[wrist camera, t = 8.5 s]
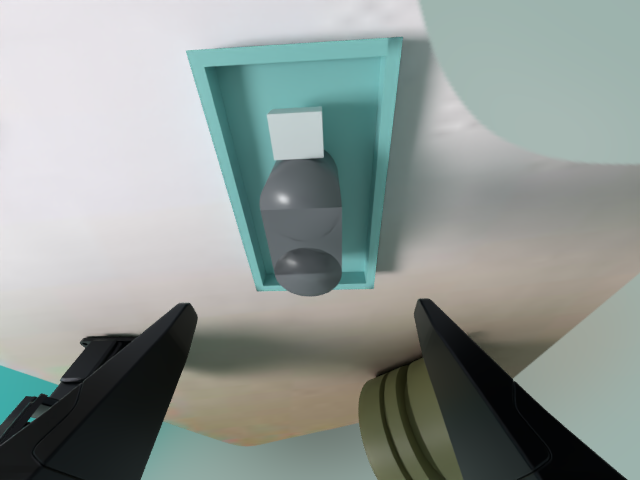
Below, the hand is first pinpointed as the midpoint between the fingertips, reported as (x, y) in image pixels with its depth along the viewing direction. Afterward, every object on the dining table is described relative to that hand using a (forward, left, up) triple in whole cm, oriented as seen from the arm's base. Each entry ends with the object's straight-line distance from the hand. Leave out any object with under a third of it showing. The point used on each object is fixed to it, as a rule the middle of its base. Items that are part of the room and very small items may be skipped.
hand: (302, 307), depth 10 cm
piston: (-23, -12, -9) cm, 27 cm away
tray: (+1, 0, -9) cm, 9 cm away
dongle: (0, 0, -8) cm, 8 cm away
